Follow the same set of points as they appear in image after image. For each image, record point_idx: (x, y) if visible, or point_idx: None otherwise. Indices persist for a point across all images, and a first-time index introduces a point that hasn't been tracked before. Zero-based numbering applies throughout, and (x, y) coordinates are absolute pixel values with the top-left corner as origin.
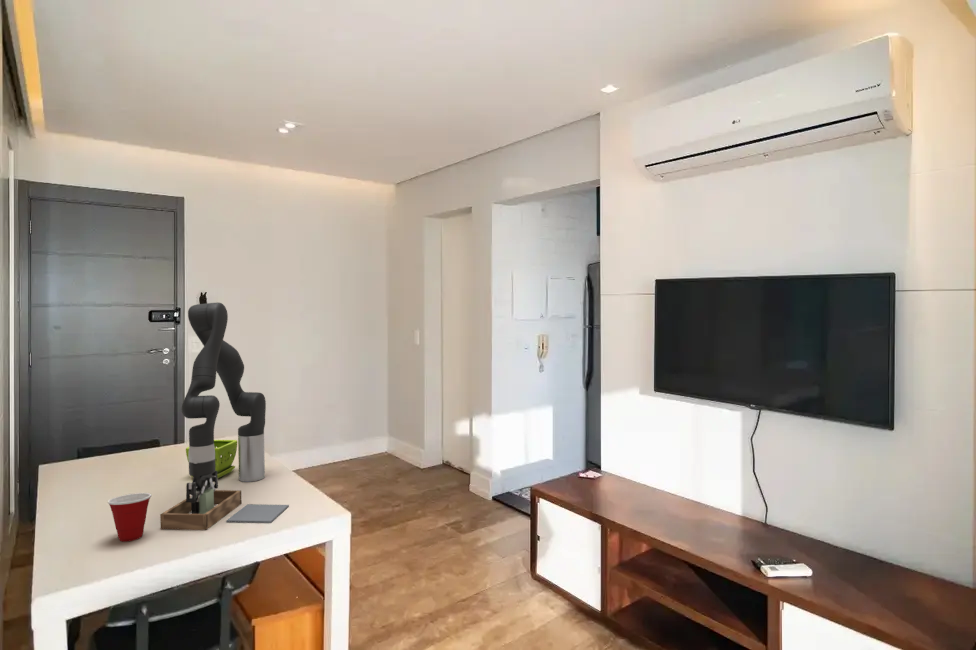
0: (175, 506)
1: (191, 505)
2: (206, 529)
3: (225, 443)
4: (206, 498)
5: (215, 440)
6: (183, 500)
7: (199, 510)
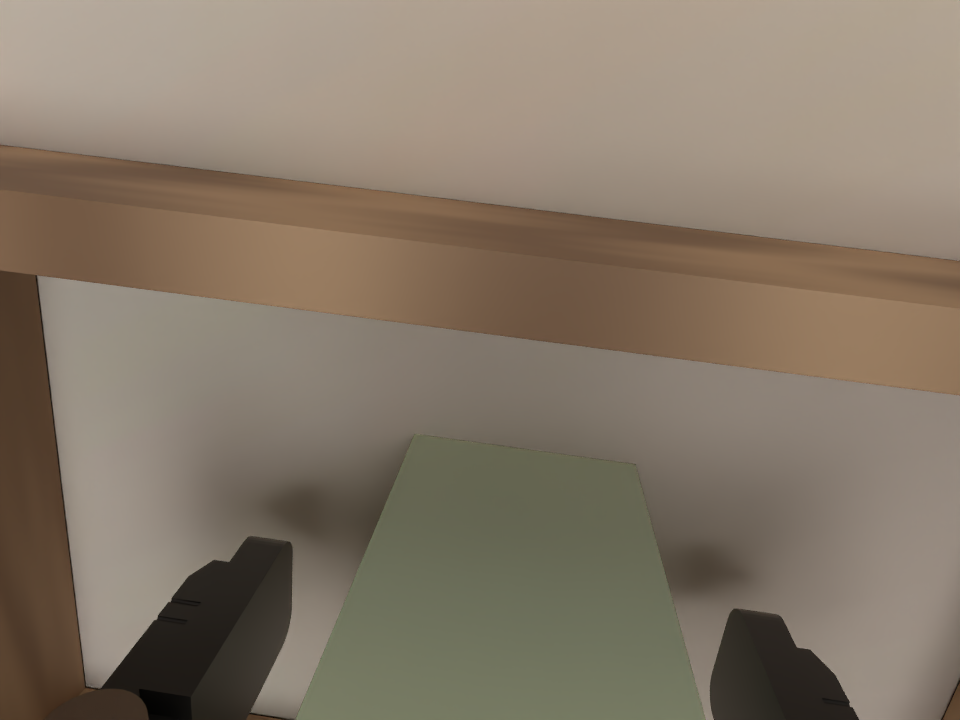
0: (192, 270)
1: (117, 669)
2: None
3: None
4: None
5: None
6: (640, 278)
7: (270, 667)
